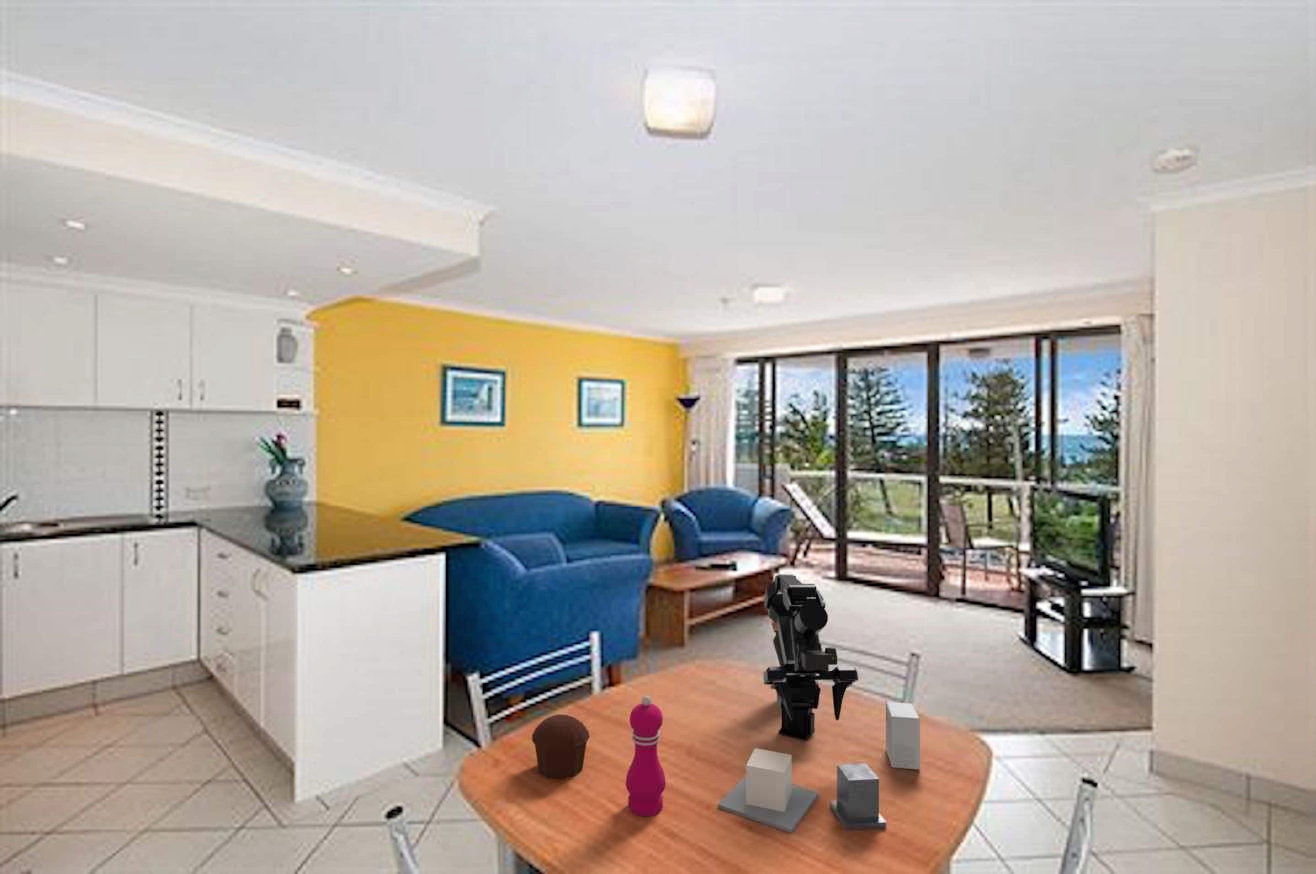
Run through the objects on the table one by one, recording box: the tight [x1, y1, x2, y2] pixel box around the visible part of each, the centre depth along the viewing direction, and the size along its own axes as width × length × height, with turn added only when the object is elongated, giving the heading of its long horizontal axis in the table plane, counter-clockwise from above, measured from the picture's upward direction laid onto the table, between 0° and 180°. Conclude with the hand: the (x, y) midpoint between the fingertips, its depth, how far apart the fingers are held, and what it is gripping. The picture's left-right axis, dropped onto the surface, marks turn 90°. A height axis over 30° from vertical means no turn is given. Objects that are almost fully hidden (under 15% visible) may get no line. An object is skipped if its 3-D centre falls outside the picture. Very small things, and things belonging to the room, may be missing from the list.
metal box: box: [829, 762, 887, 831], centre depth 115 cm, size 7×7×8 cm
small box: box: [885, 701, 921, 771], centre depth 135 cm, size 8×6×10 cm
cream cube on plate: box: [745, 748, 793, 812], centre depth 119 cm, size 7×7×7 cm
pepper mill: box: [625, 695, 667, 817], centre depth 117 cm, size 7×7×20 cm
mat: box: [717, 775, 820, 834], centre depth 119 cm, size 14×14×1 cm
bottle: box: [770, 619, 784, 667], centre depth 168 cm, size 7×7×20 cm
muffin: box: [531, 714, 591, 781], centre depth 131 cm, size 12×11×10 cm
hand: (814, 720), depth 132 cm, fingers open, 9 cm apart
